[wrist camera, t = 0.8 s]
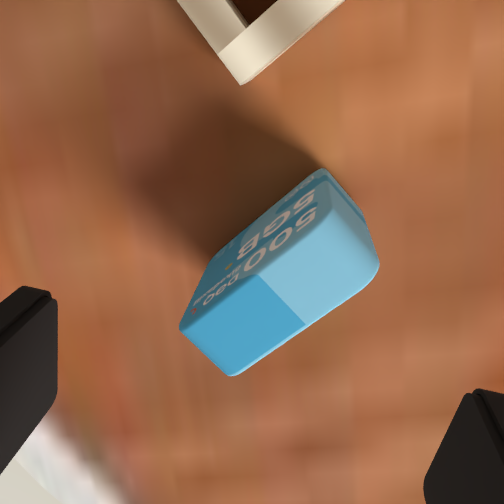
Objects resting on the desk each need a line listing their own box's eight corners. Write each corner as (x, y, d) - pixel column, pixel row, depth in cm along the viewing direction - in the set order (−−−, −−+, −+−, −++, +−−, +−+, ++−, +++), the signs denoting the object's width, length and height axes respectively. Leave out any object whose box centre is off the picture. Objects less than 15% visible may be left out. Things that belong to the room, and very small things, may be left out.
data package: (323, 162, 34) (331, 212, 23) (361, 206, 35) (386, 275, 24) (210, 257, 38) (170, 338, 27) (246, 294, 39) (223, 387, 28)
